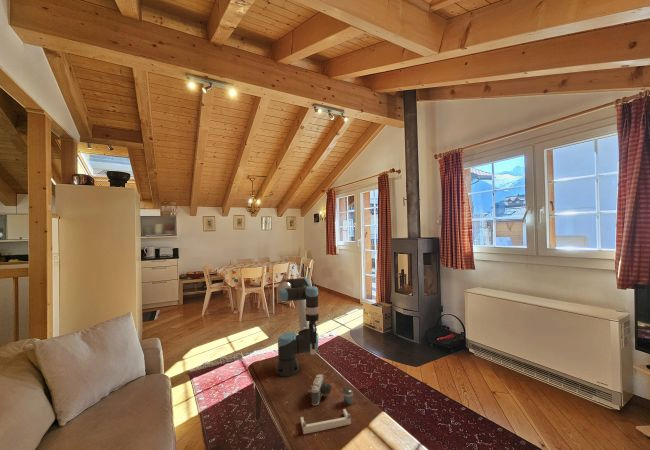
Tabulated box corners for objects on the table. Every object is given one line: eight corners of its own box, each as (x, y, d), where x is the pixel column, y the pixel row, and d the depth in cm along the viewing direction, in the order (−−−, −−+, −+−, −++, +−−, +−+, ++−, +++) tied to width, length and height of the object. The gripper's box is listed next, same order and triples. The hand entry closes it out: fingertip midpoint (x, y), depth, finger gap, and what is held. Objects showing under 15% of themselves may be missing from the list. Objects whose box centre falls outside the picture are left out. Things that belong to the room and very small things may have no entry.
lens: (341, 401, 149) (341, 388, 149) (351, 399, 150) (351, 386, 150) (344, 407, 144) (344, 393, 144) (354, 405, 145) (354, 392, 145)
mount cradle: (300, 422, 134) (300, 412, 134) (345, 413, 139) (345, 404, 139) (303, 434, 126) (303, 424, 126) (350, 424, 131) (350, 415, 131)
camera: (309, 405, 146) (309, 385, 146) (316, 388, 162) (316, 370, 162) (327, 407, 144) (326, 387, 144) (332, 389, 160) (332, 371, 160)
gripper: (303, 310, 171) (304, 349, 171) (307, 317, 158) (308, 359, 158) (315, 309, 173) (316, 347, 173) (320, 316, 160) (321, 358, 159)
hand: (312, 353), depth 165 cm, fingers closed
